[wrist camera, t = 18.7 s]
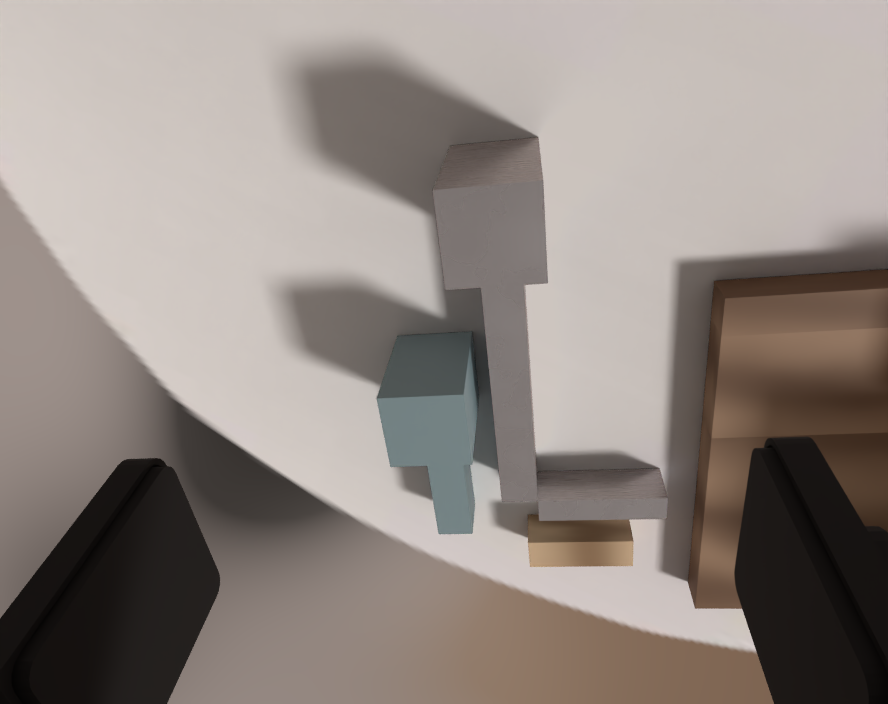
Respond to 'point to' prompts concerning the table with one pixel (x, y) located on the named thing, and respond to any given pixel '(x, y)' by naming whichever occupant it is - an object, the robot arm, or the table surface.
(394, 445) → the light blue l-shaped block
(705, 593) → the deck
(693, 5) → the table surface
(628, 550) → the short block
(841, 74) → the table surface
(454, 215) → the crook
